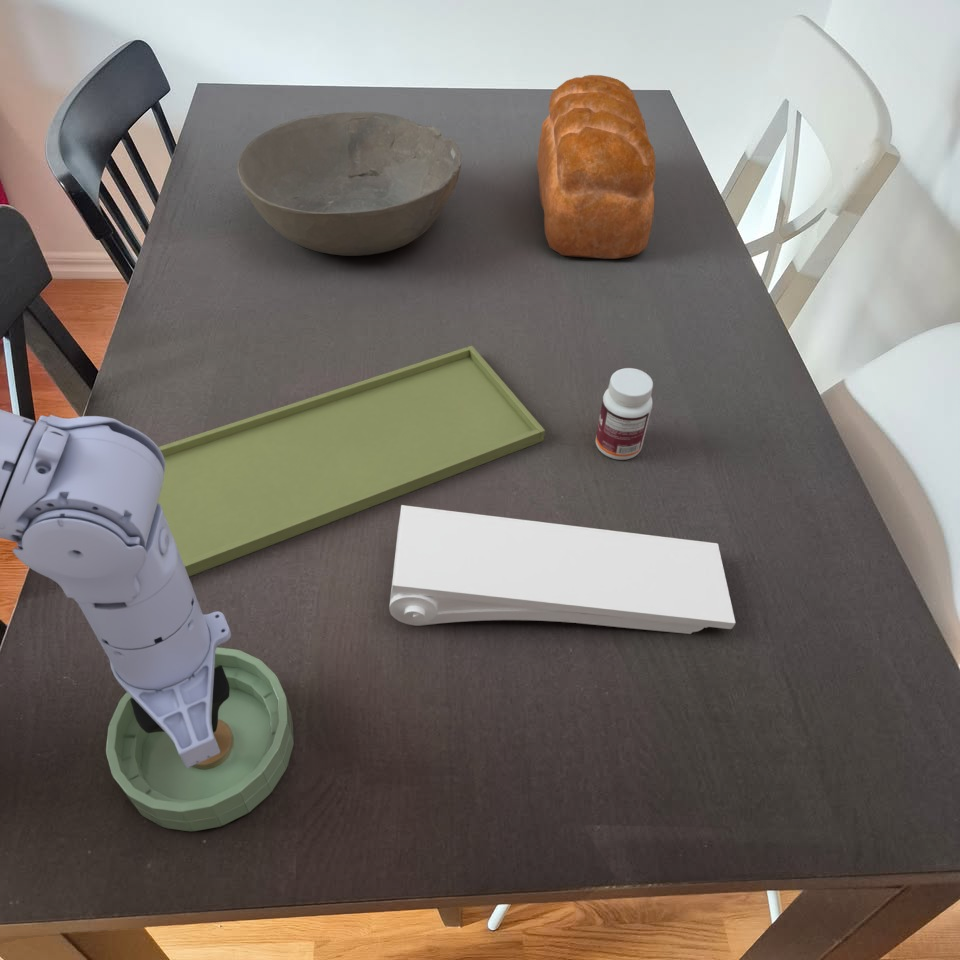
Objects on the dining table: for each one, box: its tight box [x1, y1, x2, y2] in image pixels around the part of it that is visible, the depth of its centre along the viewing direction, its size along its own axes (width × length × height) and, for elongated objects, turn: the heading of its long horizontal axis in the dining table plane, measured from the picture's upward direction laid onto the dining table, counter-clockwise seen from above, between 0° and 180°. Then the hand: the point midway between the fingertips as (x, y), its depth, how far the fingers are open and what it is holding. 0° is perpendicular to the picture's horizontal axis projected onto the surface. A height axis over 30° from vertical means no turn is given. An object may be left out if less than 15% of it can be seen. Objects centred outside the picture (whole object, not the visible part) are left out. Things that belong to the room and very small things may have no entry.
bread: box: [536, 74, 656, 260], centre depth 110 cm, size 14×26×16 cm, turn 0°
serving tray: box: [158, 345, 546, 578], centre depth 81 cm, size 39×15×2 cm, turn 119°
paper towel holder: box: [192, 719, 234, 769], centre depth 58 cm, size 4×4×9 cm
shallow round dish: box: [105, 646, 295, 832], centre depth 60 cm, size 12×12×4 cm
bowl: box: [236, 111, 462, 257], centre depth 107 cm, size 28×28×10 cm
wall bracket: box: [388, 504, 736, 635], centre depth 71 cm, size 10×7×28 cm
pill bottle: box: [595, 367, 654, 461], centre depth 81 cm, size 5×5×8 cm
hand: (195, 717), depth 58 cm, fingers closed
